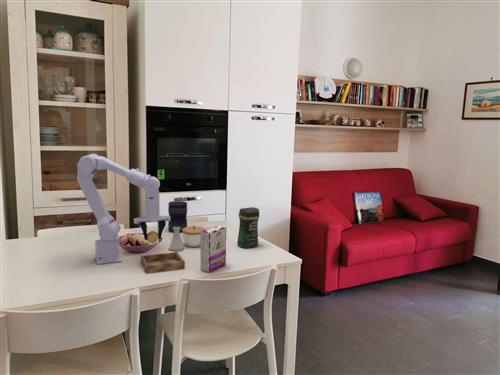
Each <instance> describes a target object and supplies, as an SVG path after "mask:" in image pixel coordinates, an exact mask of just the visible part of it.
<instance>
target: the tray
mask: <svg viewBox="0 0 500 375" xmlns="http://www.w3.org/2000/svg"><path fill="white" fill-rule="evenodd" d="M185 262H186V261H185V260H184V259H183V257H182V256H181V254H179V251H173V252H163V253H153V254H146V255H140V265H141V266H142V267H143V270H144V272H145V274H152V273H153V274H154V273H160V272H161V273H162V272H169V271H176V270H177V271H178V270H185V266H186V265H185V264H186V263H185Z"/></svg>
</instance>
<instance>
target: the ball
mask: <svg viewBox="0 0 500 375" xmlns="http://www.w3.org/2000/svg"><path fill="white" fill-rule="evenodd" d="M159 240H160V239H159V235H158V231H155V230H152V231H149V232H147V240H146V241H147V242H148V243H150V244H155V243H157V241H159Z"/></svg>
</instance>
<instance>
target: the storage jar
mask: <svg viewBox="0 0 500 375" xmlns="http://www.w3.org/2000/svg"><path fill="white" fill-rule="evenodd" d="M167 210H168V212H167V213H168V216H170V221H167V222H168V227H167V228H168V232H169V233H173V234H174V230H173V228H174V227H180V234H183V232H182V229H183V228H185V227H188V220H187V219H188V218H187V216H188V215H187V214H188V202H186V201H183V200H182V201H181V200H174V201H173V200H172V201H169V202H168V208H167Z"/></svg>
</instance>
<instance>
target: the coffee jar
mask: <svg viewBox="0 0 500 375" xmlns="http://www.w3.org/2000/svg"><path fill="white" fill-rule="evenodd" d="M238 218H239V228H238V236H237V246H238V247H240V248H244V249H247V248H248V249H249V248H250V247H251V248H254V247H258V245H259V232H258V229H259V228H258V227H259V226H258V222H259V219H260V209H259V208H257V207H253V206H252V207H244V208H241V207H240V209H239V211H238Z"/></svg>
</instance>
